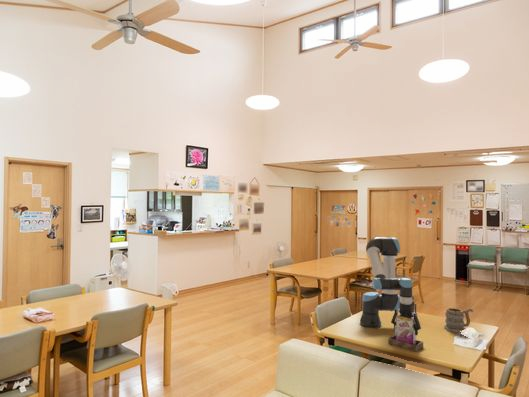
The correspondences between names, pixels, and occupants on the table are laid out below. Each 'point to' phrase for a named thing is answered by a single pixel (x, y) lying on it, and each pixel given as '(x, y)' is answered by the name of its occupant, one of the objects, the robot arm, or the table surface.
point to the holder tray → (405, 344)
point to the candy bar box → (405, 329)
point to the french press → (413, 306)
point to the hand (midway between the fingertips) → (405, 337)
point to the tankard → (456, 319)
